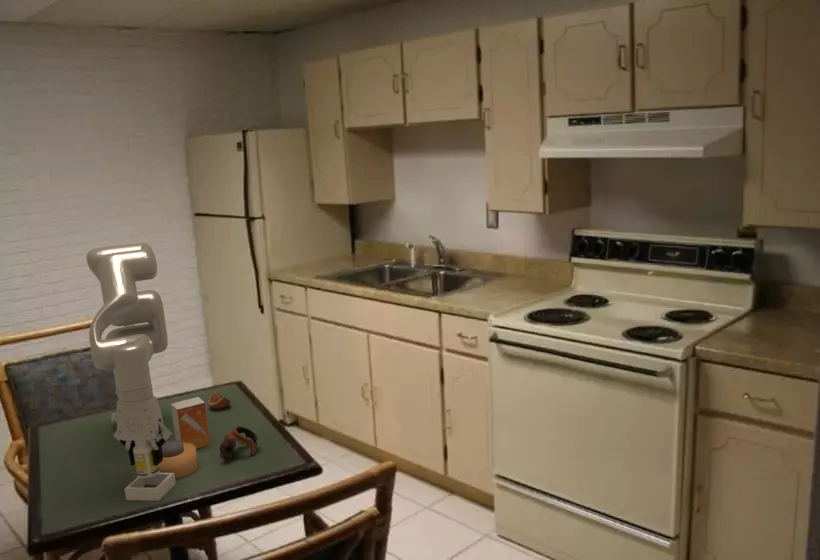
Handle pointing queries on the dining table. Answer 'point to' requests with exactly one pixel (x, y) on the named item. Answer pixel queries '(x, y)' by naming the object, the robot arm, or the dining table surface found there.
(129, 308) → the robot arm
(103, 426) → the dining table surface
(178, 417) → the small box
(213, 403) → the fruit slice
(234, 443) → the brown curved piece
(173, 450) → the disc and frame
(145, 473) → the supplement bottle
